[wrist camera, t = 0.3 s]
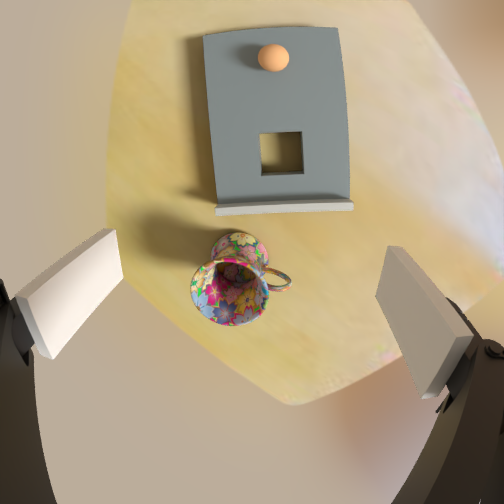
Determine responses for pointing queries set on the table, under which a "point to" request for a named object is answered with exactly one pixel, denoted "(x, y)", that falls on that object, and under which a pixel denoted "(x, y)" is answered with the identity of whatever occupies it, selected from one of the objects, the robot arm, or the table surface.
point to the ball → (273, 57)
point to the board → (278, 120)
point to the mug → (234, 281)
